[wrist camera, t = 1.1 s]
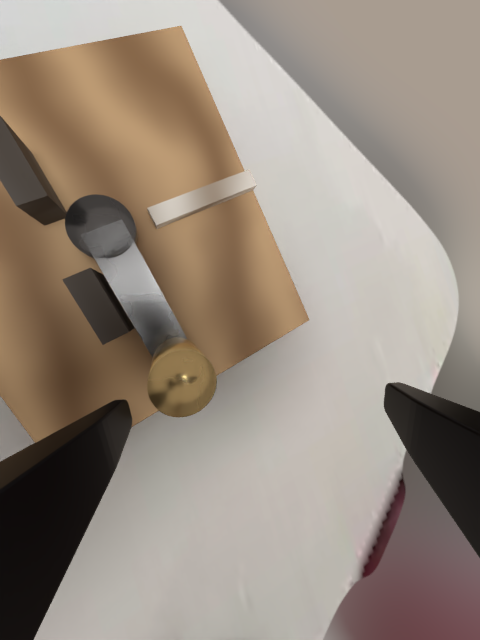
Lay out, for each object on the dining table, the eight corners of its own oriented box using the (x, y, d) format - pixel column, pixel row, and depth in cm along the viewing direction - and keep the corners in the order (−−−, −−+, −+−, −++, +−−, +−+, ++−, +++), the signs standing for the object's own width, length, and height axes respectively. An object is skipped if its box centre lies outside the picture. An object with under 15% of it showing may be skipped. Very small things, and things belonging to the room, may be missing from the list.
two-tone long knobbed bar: (59, 215, 14) (-14, 150, 8) (119, 194, 15) (90, 121, 9) (162, 389, 16) (162, 434, 11) (209, 362, 17) (233, 389, 11)
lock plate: (65, 458, 17) (33, 508, 13) (-177, 123, 13) (-345, 32, 9) (300, 319, 22) (332, 321, 18) (179, 48, 18) (184, -33, 14)
